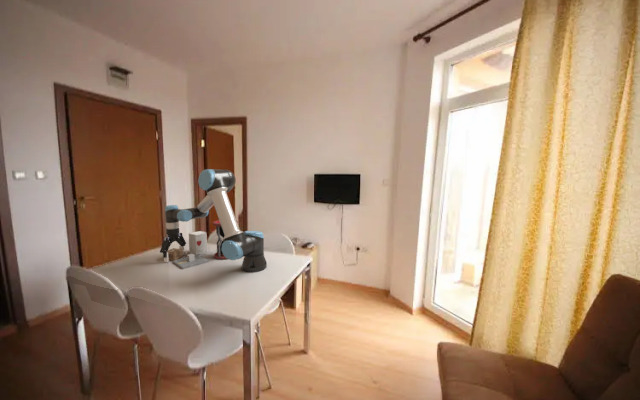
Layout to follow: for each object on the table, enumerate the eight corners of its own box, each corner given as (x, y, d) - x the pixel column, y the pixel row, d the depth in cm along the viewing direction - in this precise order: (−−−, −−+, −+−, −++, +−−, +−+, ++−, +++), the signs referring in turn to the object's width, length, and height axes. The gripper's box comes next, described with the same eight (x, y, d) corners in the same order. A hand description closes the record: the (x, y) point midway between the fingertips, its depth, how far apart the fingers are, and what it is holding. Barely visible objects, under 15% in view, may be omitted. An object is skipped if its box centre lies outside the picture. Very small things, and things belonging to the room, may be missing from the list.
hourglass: (228, 260, 163) (227, 224, 160) (209, 258, 167) (207, 222, 165) (242, 253, 178) (242, 220, 175) (224, 251, 183) (223, 218, 180)
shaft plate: (198, 256, 171) (198, 249, 170) (208, 261, 160) (208, 254, 160) (173, 262, 159) (172, 254, 158) (182, 269, 148) (182, 260, 148)
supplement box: (195, 255, 173) (194, 234, 171) (189, 253, 177) (188, 233, 176) (207, 252, 180) (206, 232, 178) (200, 249, 185) (200, 230, 183)
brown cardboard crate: (173, 256, 170) (173, 247, 169) (182, 257, 168) (182, 248, 168) (165, 260, 163) (165, 251, 162) (174, 261, 161) (174, 251, 161)
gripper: (181, 223, 176) (183, 252, 178) (151, 232, 152) (154, 264, 154) (190, 224, 175) (192, 253, 177) (162, 232, 150) (164, 265, 153)
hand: (174, 258), depth 165 cm, fingers open, 13 cm apart
